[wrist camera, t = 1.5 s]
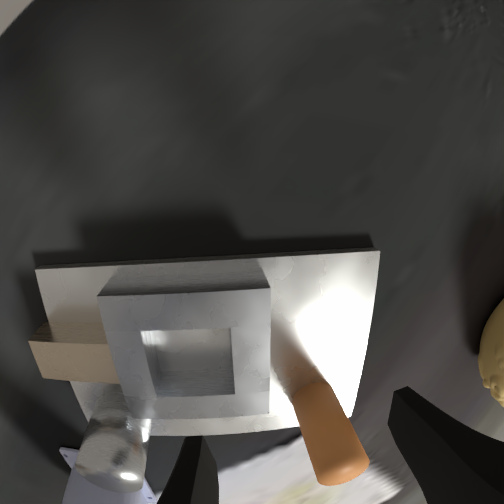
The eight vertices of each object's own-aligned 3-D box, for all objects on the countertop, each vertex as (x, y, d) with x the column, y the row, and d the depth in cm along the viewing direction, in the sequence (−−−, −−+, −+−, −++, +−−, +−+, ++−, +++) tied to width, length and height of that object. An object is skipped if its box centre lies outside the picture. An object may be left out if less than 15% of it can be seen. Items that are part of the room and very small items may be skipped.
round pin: (331, 409, 21) (362, 477, 15) (291, 416, 21) (314, 489, 14) (336, 378, 21) (374, 450, 14) (293, 385, 20) (321, 463, 14)
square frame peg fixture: (263, 388, 20) (269, 413, 18) (68, 388, 18) (57, 411, 16) (262, 269, 17) (270, 288, 15) (32, 280, 16) (13, 296, 13)
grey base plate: (347, 409, 23) (378, 469, 16) (94, 424, 21) (75, 487, 14) (374, 247, 19) (439, 289, 12) (40, 265, 16) (-20, 313, 10)
